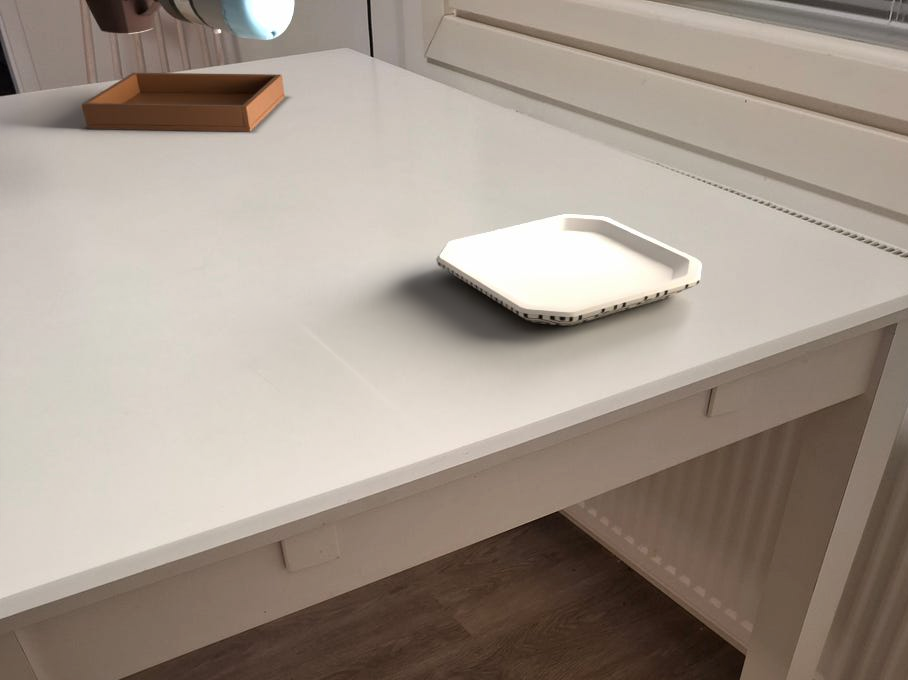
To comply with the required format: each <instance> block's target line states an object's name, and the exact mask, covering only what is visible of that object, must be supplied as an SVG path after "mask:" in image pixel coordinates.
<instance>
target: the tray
mask: <svg viewBox="0 0 908 680" xmlns="http://www.w3.org/2000/svg"><path fill="white" fill-rule="evenodd" d="M285 98H286V96H285V88H284V82H283V75H282V74H277V73H276V74H272V73H271V74H270V73H269V74H268V73H199V72H198V73H193V72H192V73H191V72H190V73H189V72H187V73H184V72H132V73H130V74H129V75H127V76H125V77H124V78H122V79H120V80H119V81H117V82H115V83H113V84H112V85H110V86H108V87H107V88H106V89H104V90H103V91H100V92H99V93H97V94H95V95H94V96H92V97H91V98H89V99H88V100H85V101H84V102H83V103H81V109H82V111H83V112H82V113H83V116H84V119H85V123H86V126H87V129H88V130H131V131H132V130H134V131H135V130H137V131H187V132H188V131H190V132H191V131H192V132H195V131H196V132H243V133H244V132H245V133H247V132H249V133H250V132H252V131H253V130H254V128H256V127H257V126H258V125H259V124H260V123H261V122H262V120H264V119H265V118H266V117H267V116H268V115H269V114H270V113H271V112H272V111H273V110H274V109H275V108H276V107H277V106H278V105H279V104H280V103H281V102H282V101H283V100H284V99H285Z"/></svg>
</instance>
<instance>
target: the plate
mask: <svg viewBox="0 0 908 680" xmlns="http://www.w3.org/2000/svg"><path fill="white" fill-rule="evenodd" d="M436 263H437V265H438V266H439V267H440V268H442V269H444V270H445V271H447V272H448V273H450V274H452V275H453V276H455V277H457V278H458V279H460V280H462V281H463V282H464V283H466V284H468V285H469V286H471V287H473V288H474V289H476V290H478V291H479V292H480V293H482V294H484V295H486V296H487V297H489V298H490V299H491V300H493V301H495V302H496V303H498V304H499V305H502V306H503V307H504V308H506V309H508V310H509V311H511V312H512V313H514V314H516V315H517V316H519V317H520V318H522V319H524V320H525V321H527V322H529V323H532V324H538V325H548V326H549V325H550V326H559V327H560V326H561V327H571V326H575V325H580V324H583V323H585V322H590V321H593V320H597V319H599V318H603V317H607V316H610V315H614V314H617V313H621V312H624V311H627V310H630V309H635V308H637V307H641V306H644V305H647V304H651V303H654V302H658V301H662V300H664V299H668V298H670V297H672V296H675V295H677V294H679V293H681V292H683V291H686V290H689V289H691V288H693V287H695V286H697V285H698V284H700V282H701V276H702V267H703V263H702V262H701V261H700V259H698V258H697V257H694V256H692V255H690V254H688V253H686V252H684V251H681V250H679V249H677V248H675V247H673V246H671V245H668V244H667V243H663V242H662V241H659V240H657V239H655V238H653V237H651V236H649V235H646V234H644V233H642V232H639V231H637V230H635V229H633V228H632V227H628V226H626V225H624V224H622V223H620V222H618V221H616V220H613V219H611V218H610V217H607V216H602V215H601V216H600V215H599V216H598V215H585V214H571V213H567V214H561V215H555V216H552V217H551V216H550V217H546V218H543V219H542V218H541V219H539V220H533V221H530V222H525V223H520V224H517V225H513V226H508V227H504V228H500V229H496V230H491V231H487V232H483V233H478V234H474V235H470V236H465V237H461V238H457V239H452V240H450V241H447V243H446V244H445V245H444V247H443V248H442V250H441V252H440V253H439V254H438V255H437V257H436Z"/></svg>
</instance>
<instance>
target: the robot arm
mask: <svg viewBox="0 0 908 680" xmlns="http://www.w3.org/2000/svg"><path fill="white" fill-rule="evenodd" d="M124 1H129V0H124ZM154 1H155V2H159V3H160V4H161V8H163V10H164V11H165V12H166V13H167V14H168V15H170V16H171V17H172V18H174V19H176V20H178V21H181V22H185V23H189V24H193V25H199V26H202V27H207V28H209V29H212V32H213V34H215V35H220V34H221V33H222V32H225V33H228V34H231V35H234V36H237V37H239V38H242V39H244V40H248V39H253V40H263V41H270V40H273V39H275V38H277V37H279V36H280V35H282V34H283V33H284V32H285V31H286V30H287V28H288V26H289V25H290V23H291V21H292V17H293V15H294V8H295V0H154Z"/></svg>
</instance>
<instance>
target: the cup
mask: <svg viewBox="0 0 908 680" xmlns="http://www.w3.org/2000/svg"><path fill="white" fill-rule="evenodd" d="M85 2H86V4H87V7H88V9H89V10H90V13H91V14H92V17H93V19H94V20H95V23H96V24H97V26H98V28H99V29H100V31H101V32H102V33H108V34H117V35H132V34H139V33H143V32H147V31H150V30H153V29H154V25H155V24H154V23H155V14H156V12H158V11H159V10H160V9H161V8H162V6H161V4H160V3H159V2H155V1H154V0H129V1H124V0H85Z"/></svg>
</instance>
